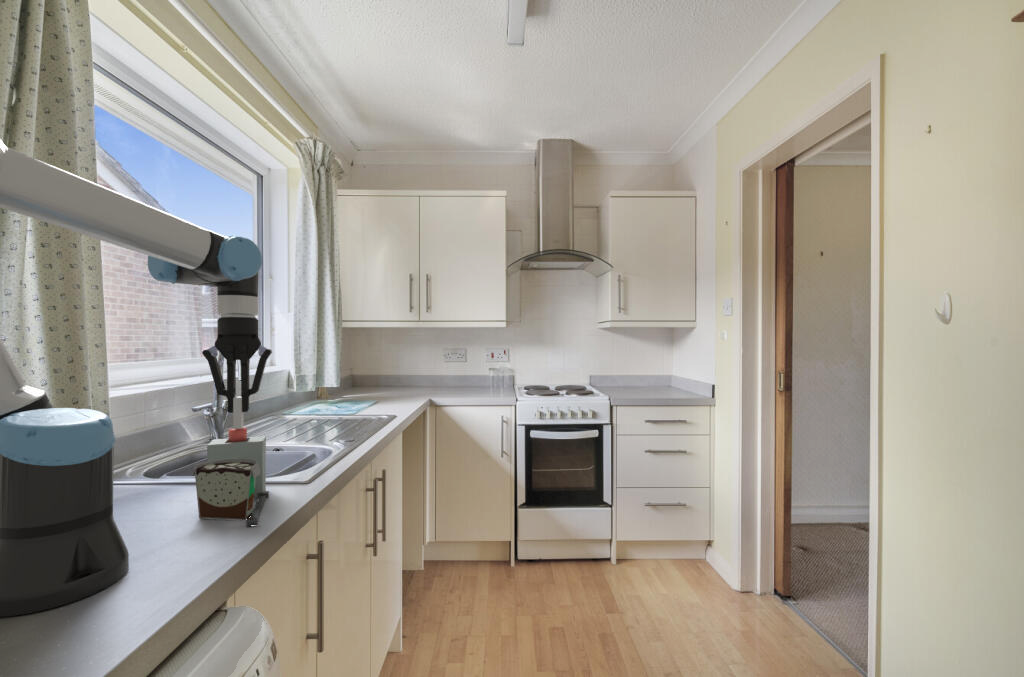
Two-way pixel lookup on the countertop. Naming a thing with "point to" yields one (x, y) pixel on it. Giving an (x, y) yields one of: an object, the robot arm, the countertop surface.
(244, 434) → the button
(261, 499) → the guide rail
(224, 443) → the cabinet
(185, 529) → the countertop surface
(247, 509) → the food container
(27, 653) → the countertop surface
